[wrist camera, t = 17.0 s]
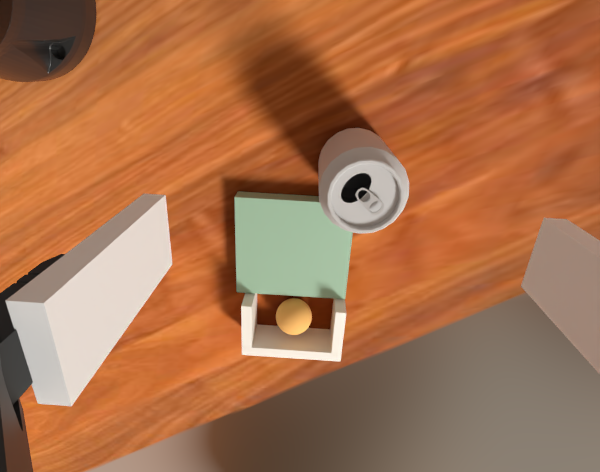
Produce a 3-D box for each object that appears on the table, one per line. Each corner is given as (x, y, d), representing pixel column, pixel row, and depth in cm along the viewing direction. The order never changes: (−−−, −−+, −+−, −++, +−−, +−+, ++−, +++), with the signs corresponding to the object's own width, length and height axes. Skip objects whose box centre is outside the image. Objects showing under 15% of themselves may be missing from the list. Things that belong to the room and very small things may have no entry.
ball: (273, 341, 47) (274, 312, 45) (277, 317, 50) (277, 289, 48) (310, 343, 46) (312, 314, 44) (311, 319, 50) (313, 292, 48)
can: (352, 110, 39) (365, 130, 28) (403, 159, 41) (434, 195, 30) (303, 165, 42) (298, 202, 31) (354, 208, 44) (366, 258, 33)
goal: (247, 331, 51) (241, 354, 47) (247, 285, 48) (241, 306, 44) (338, 337, 51) (340, 361, 47) (343, 291, 48) (346, 313, 44)
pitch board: (239, 283, 48) (236, 292, 47) (237, 191, 43) (234, 197, 42) (344, 290, 48) (345, 299, 46) (354, 198, 43) (355, 204, 41)
